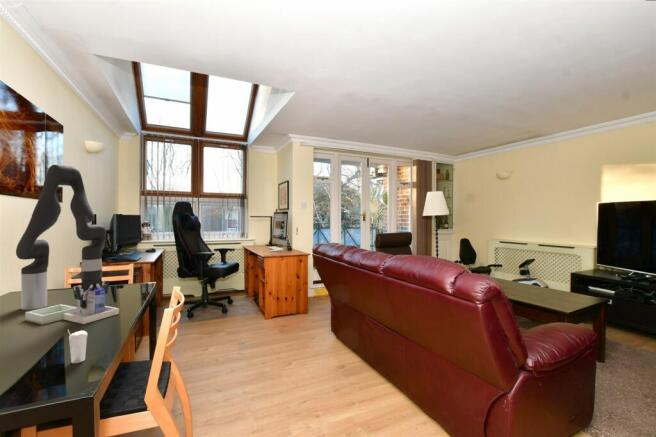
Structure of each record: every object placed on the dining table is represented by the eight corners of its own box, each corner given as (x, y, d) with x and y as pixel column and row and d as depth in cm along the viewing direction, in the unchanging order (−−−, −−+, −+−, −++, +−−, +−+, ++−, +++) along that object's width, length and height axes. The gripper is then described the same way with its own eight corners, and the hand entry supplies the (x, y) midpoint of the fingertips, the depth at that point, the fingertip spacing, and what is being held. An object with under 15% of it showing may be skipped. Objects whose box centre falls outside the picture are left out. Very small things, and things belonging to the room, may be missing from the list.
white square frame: (63, 319, 133) (63, 313, 133) (99, 309, 147) (99, 304, 147) (83, 324, 128) (83, 318, 128) (118, 313, 141) (118, 308, 141)
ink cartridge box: (106, 315, 139) (106, 283, 139) (94, 319, 134) (94, 286, 133) (88, 313, 141) (88, 282, 141) (76, 317, 136) (76, 285, 135)
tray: (25, 320, 132) (25, 312, 132) (61, 311, 144) (61, 304, 144) (42, 324, 127) (42, 316, 127) (77, 315, 139) (77, 307, 139)
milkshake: (73, 358, 97) (73, 326, 97) (90, 357, 98) (91, 326, 98) (62, 364, 93) (62, 332, 93) (80, 364, 93) (80, 331, 93)
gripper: (103, 266, 145) (103, 301, 145) (68, 270, 132) (68, 309, 132) (113, 267, 142) (113, 303, 143) (78, 272, 129) (78, 312, 129)
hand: (91, 306), depth 137 cm, fingers closed on ink cartridge box, 5 cm apart
